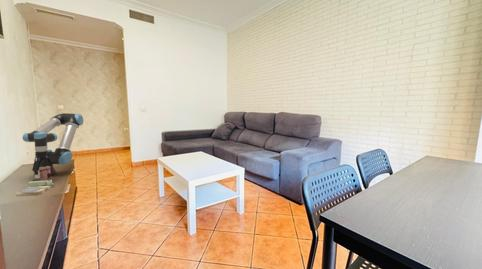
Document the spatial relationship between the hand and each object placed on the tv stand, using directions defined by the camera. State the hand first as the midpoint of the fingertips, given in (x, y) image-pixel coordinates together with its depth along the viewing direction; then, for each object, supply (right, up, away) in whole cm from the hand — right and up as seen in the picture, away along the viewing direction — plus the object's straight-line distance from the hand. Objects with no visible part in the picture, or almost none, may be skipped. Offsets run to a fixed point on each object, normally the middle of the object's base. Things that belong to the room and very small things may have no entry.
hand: (43, 175), depth 180 cm
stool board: (+8, -9, -14) cm, 18 cm away
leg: (+7, -6, -9) cm, 13 cm away
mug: (0, -7, +1) cm, 7 cm away
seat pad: (+7, -7, -18) cm, 21 cm away
